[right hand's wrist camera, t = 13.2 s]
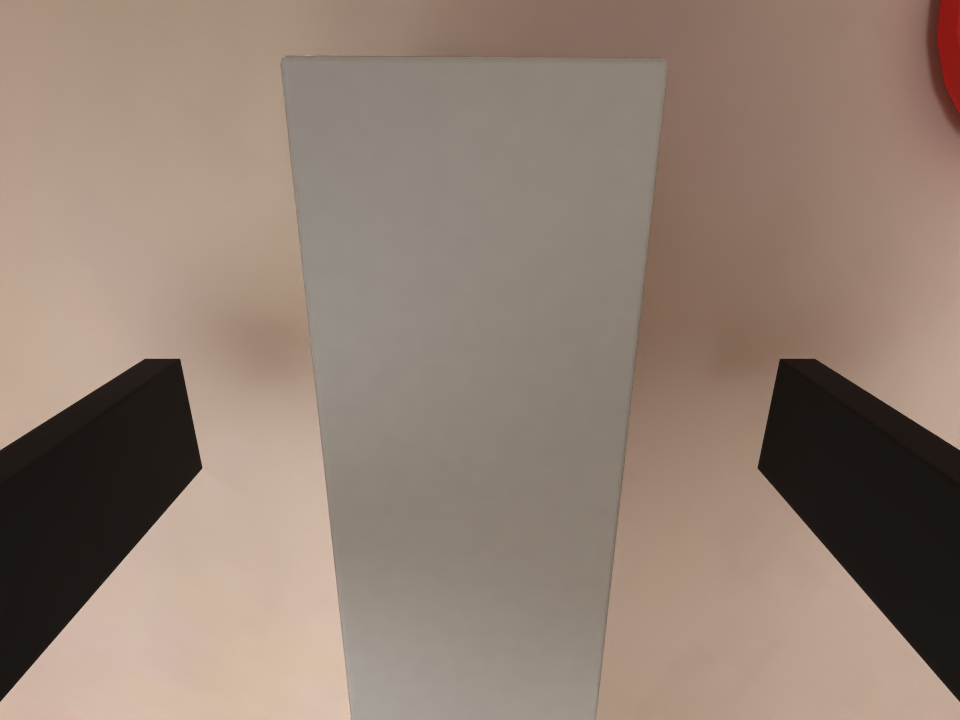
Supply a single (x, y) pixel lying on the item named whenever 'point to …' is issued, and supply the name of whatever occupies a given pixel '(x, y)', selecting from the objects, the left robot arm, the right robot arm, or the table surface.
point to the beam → (473, 363)
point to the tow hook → (950, 47)
